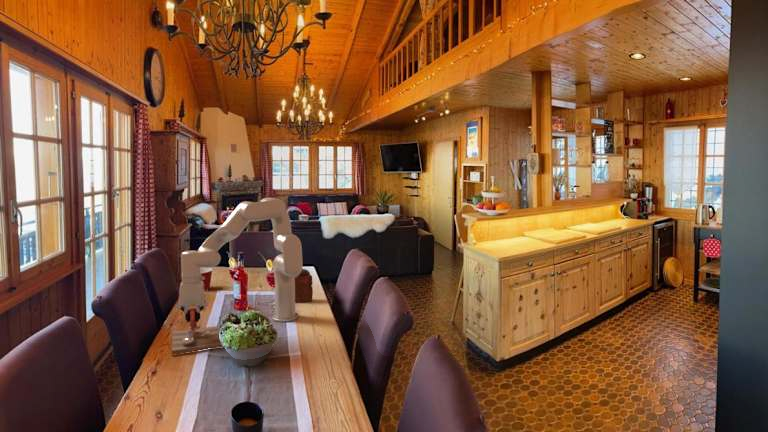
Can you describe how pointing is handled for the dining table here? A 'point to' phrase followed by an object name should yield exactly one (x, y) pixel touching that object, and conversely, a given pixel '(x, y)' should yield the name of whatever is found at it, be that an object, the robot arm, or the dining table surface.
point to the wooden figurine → (303, 287)
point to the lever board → (196, 340)
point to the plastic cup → (206, 277)
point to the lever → (191, 328)
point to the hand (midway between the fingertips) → (193, 320)
